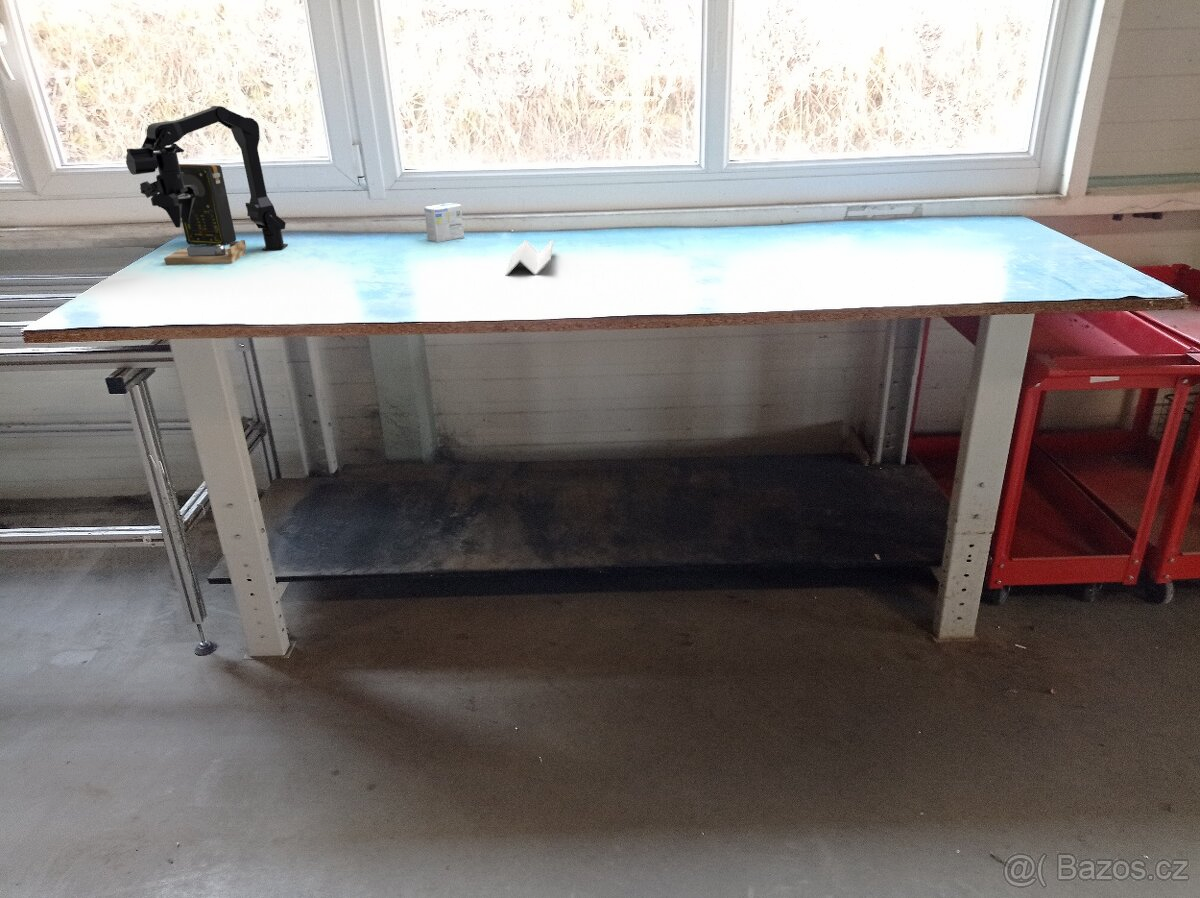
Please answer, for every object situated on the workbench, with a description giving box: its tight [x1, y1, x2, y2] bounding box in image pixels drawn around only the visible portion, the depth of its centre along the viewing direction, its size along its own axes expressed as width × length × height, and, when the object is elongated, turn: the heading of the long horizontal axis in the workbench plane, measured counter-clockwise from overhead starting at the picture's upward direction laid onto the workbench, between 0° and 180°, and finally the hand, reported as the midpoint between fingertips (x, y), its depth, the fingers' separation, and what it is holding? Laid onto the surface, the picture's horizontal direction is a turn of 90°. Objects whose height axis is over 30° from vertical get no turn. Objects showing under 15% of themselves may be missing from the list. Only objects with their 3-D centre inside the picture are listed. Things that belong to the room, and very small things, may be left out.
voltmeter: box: [179, 163, 237, 246], centre depth 278 cm, size 16×9×25 cm, turn 73°
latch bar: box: [185, 244, 226, 256], centre depth 258 cm, size 11×3×3 cm, turn 91°
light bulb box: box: [423, 202, 465, 243], centre depth 280 cm, size 11×7×11 cm, turn 130°
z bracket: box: [504, 239, 554, 277], centre depth 249 cm, size 12×25×6 cm
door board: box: [163, 239, 247, 266], centre depth 262 cm, size 12×20×4 cm, turn 91°
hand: (182, 225), depth 251 cm, fingers open, 6 cm apart
